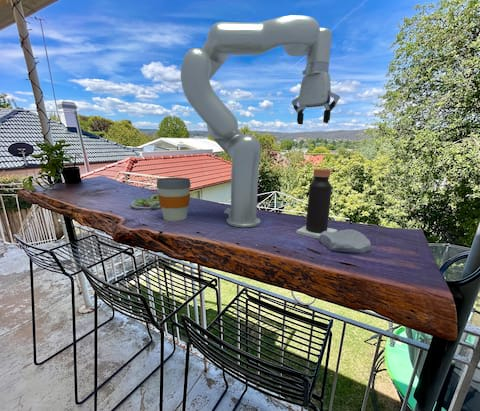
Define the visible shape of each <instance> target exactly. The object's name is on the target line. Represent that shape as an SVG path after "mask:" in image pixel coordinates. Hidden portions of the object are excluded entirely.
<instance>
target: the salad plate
mask: <svg viewBox="0 0 480 411" xmlns="http://www.w3.org/2000/svg"><path fill="white" fill-rule="evenodd" d="M158 194H159V193H156V194H152V195H151V196H150V197H149V198H141V197H140V198H137V199H134V200H132V201H131V204H130V206H131V208H133V209H135V210H140V211H141V210H158V209H162V208H161V207H160V203H159V198H158Z"/></svg>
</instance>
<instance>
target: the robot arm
mask: <svg viewBox="0 0 480 411" xmlns="http://www.w3.org/2000/svg"><path fill="white" fill-rule="evenodd" d="M332 34H333V33H332V31H331V30H330V29H329V28H327V27H320V24H319V22H318V21H317V19H315V18H314V17H312V16H310V15H309V16H308V15H301V14H300V15H299V14H296V15H295V14H292V15H291V14H289V15H283V16H279V17H275V18H272V19H267V20H264V21H260V22H242V21H241V22H240V21H239V22H238V21H237V22H236V21H219V22H215V23H214V24H212V26H210V28H209V31H208V34H207V37H206V41H205V43H204V44H203V45H202V46H201V48H199V47H193V48H190V49H188V50H187V51H186V53H185V54H184V56H183V58H182V62H181V67H180V82H181V87H182V90H183V93H184V96H185V97H186V98H185V99H186V100H187V102H188V103H189V105H190V106H191V107H192V109H193V110H194V111H195V112H196V113H197V114H198V116H199V117H200V118H201V120H203V122H204V123H205V124H206V129H207V131H208V133H209V135H210V137H211V138H212V139H213V140H214V141H215V142H216V143H217V145H218V146H219V147H220V148H221V149H222V150H223V151H224V152H225V154H226V155H227V156H228V157H229V158H231V159H232V160H231V161H232V162H231V172H230V174H231V175H230V177H231V178H230V180H231V182H230V184H231V186H230V207H227V208H226V209H225V210H224V212H223V213H224V214H225V215H228V217H227V218H226V224H227V225H229V226H231V227H235V228H254V227H257V226H259V225H260V224H261V219H260V218H259V217H258V216H257V215H258V208H257V207H258V189H259V188H258V187H259V186H258V184H259V183H258V182H259V181H258V180H259V167H260V166H259V165H260V160H261V155H262V154H261V152H262V147H261V144H260V142H259V140H258V139H257V138H256V137H255V136H254V135H252V134H247V133H246V134H245V133H244V134H243V133H242V132H241V131H240V129H239V122H238V119H237V117H236V115H234V112H232V111H231V110H230V109H229V108H228V107H227V106H226V104H225V103H224V102H223V101H222V100H221V99H220V97H219V96H218V95H217V93H216V91H215V90H214V88H213V87H212V84H211V79H212V77H214V75H216V73H217V72H218V71H219V70H220V68H221V67H222V66H223V64H224V63H226V61H227V59H228V58H229V56H259V55H262V54H265V53H267V52H269V51H271V50H273V49H275V48H278V47H281V46H283V50H284V52H285V53H286V54H287V55H288V56H291V57H302V56H303V57H304V56H305V57H306V65H305V69H304V70H302V75H304V76H303V77H302V79H301V83H300V88H299V93H298V94H299V95H298V96H297V97H296V98H294V99H293V100H292V101H291V104H292V106H293V109H294V110H295V111H296V113H297V118H296V122H297V124H298V125H303V124H304V113H303V112H304V111H305V110H306V108H318V107H324V111H323V117H322V118H323V121H322V122H323V123H325V124H329V122H330V120H331V112H332V111H333V109H334V108H335V107H336V106H337V104H338V102H339V100H340V98H341V96H340V95H338V94H336V93H334V92H332V91H331V89H332V86H331V85H332V84H331V83H332V82H331V74H330V73H329V68H330V58H331V46H332ZM331 98H333V100H332V102H331Z"/></svg>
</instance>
